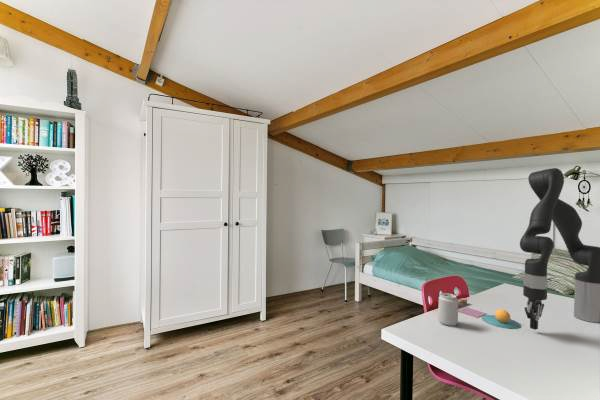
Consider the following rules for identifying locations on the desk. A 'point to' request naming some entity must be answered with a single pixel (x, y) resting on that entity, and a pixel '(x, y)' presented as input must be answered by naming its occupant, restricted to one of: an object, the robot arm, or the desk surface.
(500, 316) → the ball
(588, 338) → the desk surface
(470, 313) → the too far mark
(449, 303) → the can
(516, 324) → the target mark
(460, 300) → the stopper
